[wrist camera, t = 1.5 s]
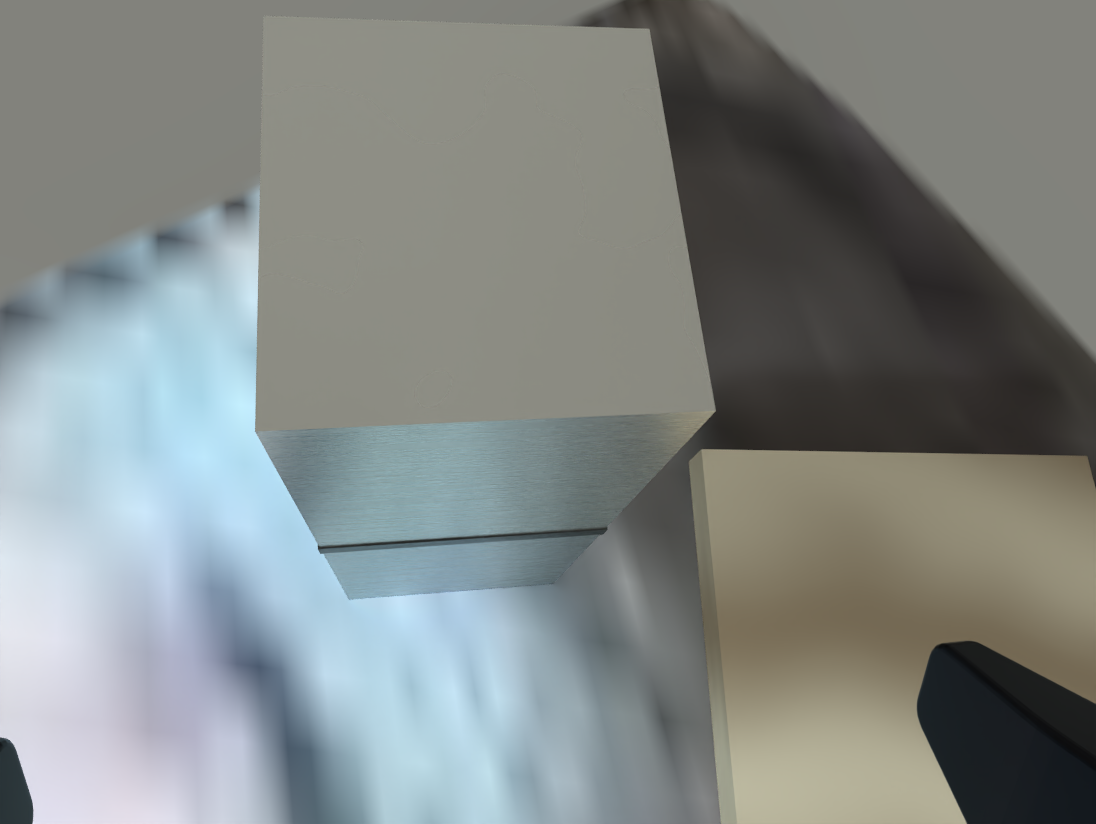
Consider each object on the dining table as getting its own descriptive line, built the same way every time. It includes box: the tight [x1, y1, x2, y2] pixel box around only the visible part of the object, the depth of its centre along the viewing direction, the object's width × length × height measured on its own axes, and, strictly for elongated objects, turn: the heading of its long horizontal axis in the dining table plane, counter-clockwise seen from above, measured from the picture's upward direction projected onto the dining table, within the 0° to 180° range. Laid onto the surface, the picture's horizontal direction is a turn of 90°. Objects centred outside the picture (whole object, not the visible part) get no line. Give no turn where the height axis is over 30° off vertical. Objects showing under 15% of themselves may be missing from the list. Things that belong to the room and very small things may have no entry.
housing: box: [255, 16, 716, 600], centre depth 16 cm, size 6×5×12 cm
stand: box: [689, 449, 1096, 824], centre depth 20 cm, size 10×10×3 cm
